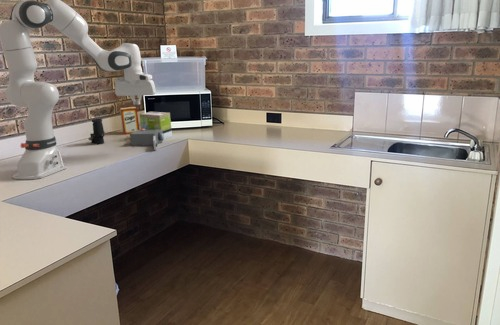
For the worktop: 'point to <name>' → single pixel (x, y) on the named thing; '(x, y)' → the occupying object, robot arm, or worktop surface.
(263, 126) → the worktop surface
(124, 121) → the baking soda box
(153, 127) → the tea box
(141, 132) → the box
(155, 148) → the side door
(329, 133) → the worktop surface
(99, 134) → the scope
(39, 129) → the robot arm
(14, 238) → the worktop surface
